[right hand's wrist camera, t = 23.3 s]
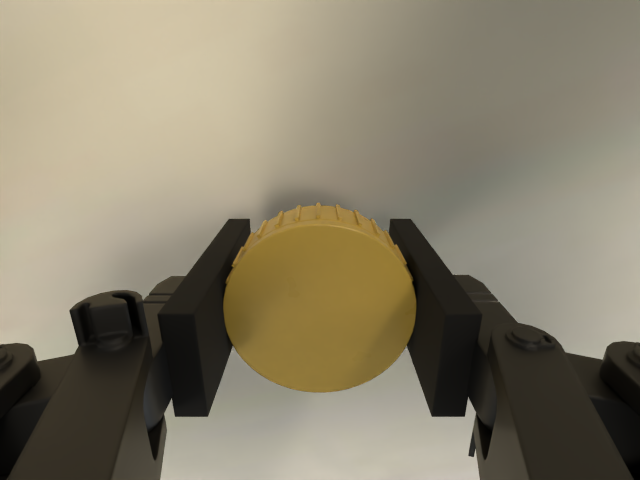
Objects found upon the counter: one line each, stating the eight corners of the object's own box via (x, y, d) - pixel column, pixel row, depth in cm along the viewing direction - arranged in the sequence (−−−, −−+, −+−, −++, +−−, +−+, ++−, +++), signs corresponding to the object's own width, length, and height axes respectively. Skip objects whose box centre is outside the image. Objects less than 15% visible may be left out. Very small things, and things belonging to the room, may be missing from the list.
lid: (423, 330, 12) (439, 366, 11) (271, 373, 13) (263, 414, 11) (379, 177, 11) (390, 192, 9) (205, 235, 11) (185, 259, 9)
